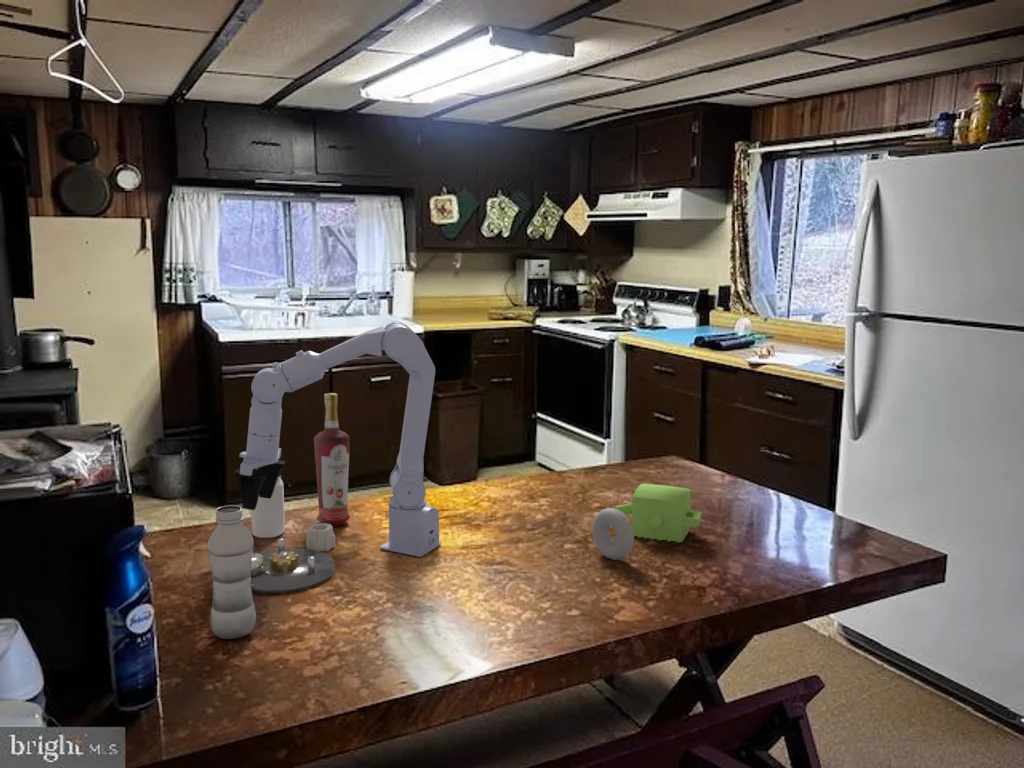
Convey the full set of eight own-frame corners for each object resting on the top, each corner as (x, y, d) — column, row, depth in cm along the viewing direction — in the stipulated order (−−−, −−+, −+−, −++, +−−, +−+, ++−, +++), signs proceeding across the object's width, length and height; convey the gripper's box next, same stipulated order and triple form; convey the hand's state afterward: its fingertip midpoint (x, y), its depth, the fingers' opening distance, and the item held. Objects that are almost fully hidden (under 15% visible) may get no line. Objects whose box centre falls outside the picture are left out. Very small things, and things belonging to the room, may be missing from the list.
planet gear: (340, 544, 162) (340, 525, 161) (323, 553, 157) (322, 534, 156) (318, 539, 164) (317, 520, 163) (300, 548, 159) (300, 529, 159)
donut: (636, 564, 155) (639, 514, 153) (623, 569, 152) (626, 517, 151) (600, 548, 162) (602, 500, 161) (587, 552, 160) (589, 503, 159)
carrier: (354, 563, 152) (354, 543, 152) (284, 605, 135) (283, 582, 134) (273, 546, 160) (272, 526, 160) (196, 582, 143) (195, 561, 142)
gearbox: (607, 537, 170) (608, 494, 168) (620, 521, 179) (620, 479, 177) (695, 549, 163) (696, 505, 161) (703, 531, 172) (704, 489, 170)
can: (275, 540, 164) (273, 482, 161) (246, 537, 165) (243, 480, 163) (290, 529, 170) (288, 473, 168) (261, 526, 171) (259, 471, 169)
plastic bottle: (217, 625, 128) (211, 502, 124) (261, 624, 128) (256, 502, 125) (205, 645, 121) (198, 516, 118) (252, 644, 122) (246, 516, 118)
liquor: (325, 531, 169) (322, 399, 164) (310, 522, 174) (306, 393, 169) (357, 524, 173) (355, 395, 168) (341, 515, 179) (338, 389, 174)
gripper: (258, 422, 159) (252, 489, 161) (226, 437, 145) (219, 510, 147) (293, 428, 159) (287, 495, 161) (264, 443, 144) (257, 516, 146)
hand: (257, 503), depth 154 cm, fingers open, 7 cm apart
